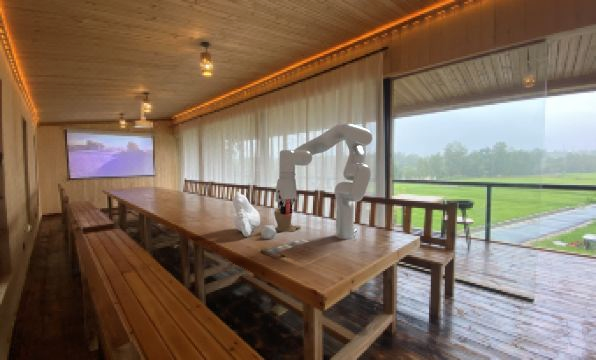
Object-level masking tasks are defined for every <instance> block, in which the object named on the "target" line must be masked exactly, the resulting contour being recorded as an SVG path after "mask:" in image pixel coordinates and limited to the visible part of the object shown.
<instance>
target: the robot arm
mask: <svg viewBox="0 0 596 360" xmlns="http://www.w3.org/2000/svg"><path fill="white" fill-rule="evenodd" d="M342 141H345V144H346V145H347V148H348V151H349V152H348V154H349V155H348V158H347V161H346V163H345V166H344V169H343V174H342V175H343V177H344V179H345V180H347V181H340V182H338V183H337V184H336V186H335V187H334V197H335V203H336V204H335V207H336V209H335V211H336V212H335V234H334V235H333V237H336V238H337V239H341V240H350V241H354V242H355V241H356V240H357V236H356V235H355V233H357V232H358V231H357V229H356V228H355V229H354V217H355V215H354V214H355V213H354V212H355V206H354V202H355V203H356V202H357V203H358V202H361V201H362V200H363V198H364V196H365V194H366V192H367V189H368V185H369V183H370V180H371V175H372V174H371V173H372V171H371V168H370V166H368V165H367V164H365V163H364V161H365V157H366V155H365V154H366V153H365V151H364V149H363V147H367V146H369V145H370V144H371V143H372V141H373V134H372V133H371V131H370V130H369V129H366V128H364V127H361V126H358V125H355V124H353V123H348V122H347V123H342V124H335V126H332V127H331V128H330V129H328V130H326V131H325V132H323V133H322V134H320V135H318V136H317V137H314V138H313V139H310V140H308V141H307V142H305V143H302V144H301V145H299V146H298V147H295V148H294V149H282V150H280V151H279V158H278V159H279V162H278V164H279V165H278V166H279V168H278V169H279V170H278V171H279V173H278V178H277V181H276V187H275V188H276V189H275V199H274V201H275V202H276V203H278V204H279V205H278V206H279V208H280V213H281V214H284V215H285V214H286V206H285V202H286V200H288V199H291V202H290V213H292V214H293V206H294V203H295V202H296V200H297V199H298V196H297V182H296V166H309V164H311V163H312V161H313V155H314V156H315V155H318V154H321V153H325V152H327V151H329V150H330V149H332V148H333V147H334V146H337V144H339V143H340V142H342ZM350 181H352V182H350Z"/></svg>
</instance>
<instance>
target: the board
mask: <svg viewBox="0 0 596 360" xmlns="http://www.w3.org/2000/svg"><path fill="white" fill-rule="evenodd" d="M309 242H310V241H308V240H305V239H302V238H301V239H298V240H294V241H292V242H289V243H286V244H282V245H279V246H277V247H273V248H270V249H268V248H261V249H260V252H261V253H262V252H263V254H265V255H268V256H271V257H273V258H276V259H280V258H283V257H285V254H284V255H283V254H281V253H280V252H282V251H285V250H288V249H291V248H293V247H297V246H299V245H303V244H306V243H309Z"/></svg>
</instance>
